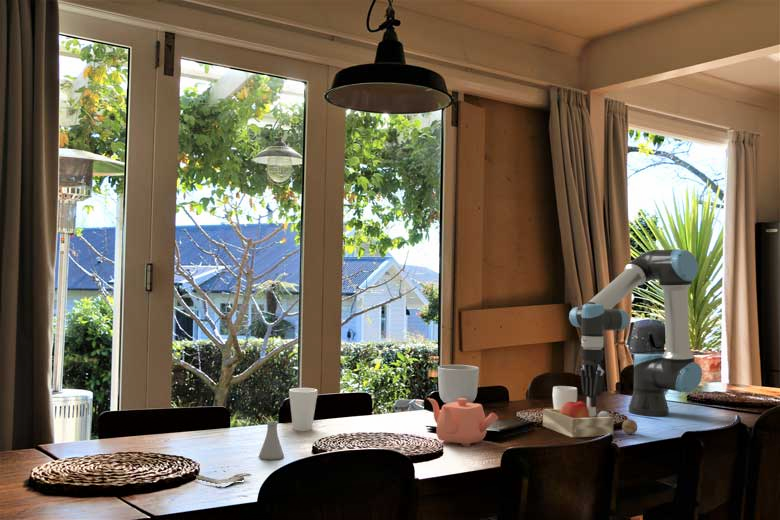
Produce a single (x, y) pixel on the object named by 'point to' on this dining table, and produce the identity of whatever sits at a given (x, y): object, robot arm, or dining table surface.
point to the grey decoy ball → (603, 414)
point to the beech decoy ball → (629, 426)
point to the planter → (457, 382)
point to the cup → (563, 395)
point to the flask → (271, 443)
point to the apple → (575, 409)
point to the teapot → (461, 422)
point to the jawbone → (232, 479)
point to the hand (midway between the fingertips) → (591, 415)
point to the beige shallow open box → (577, 424)
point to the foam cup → (302, 407)
